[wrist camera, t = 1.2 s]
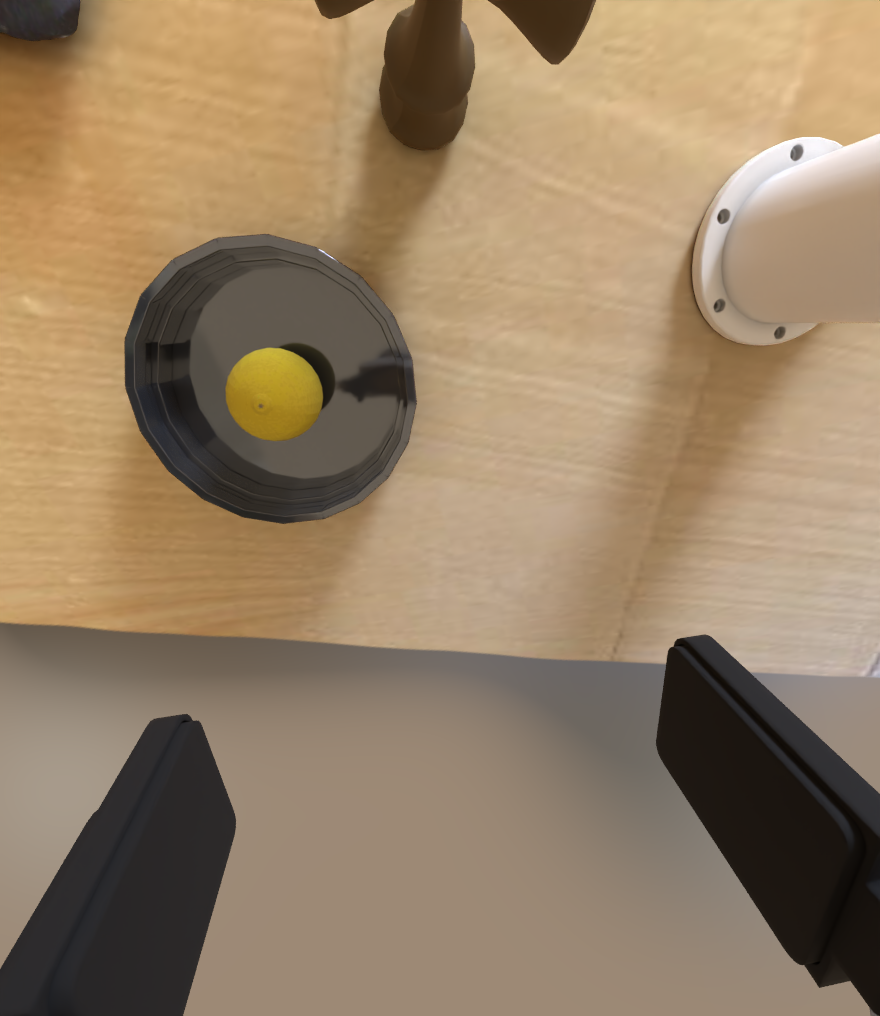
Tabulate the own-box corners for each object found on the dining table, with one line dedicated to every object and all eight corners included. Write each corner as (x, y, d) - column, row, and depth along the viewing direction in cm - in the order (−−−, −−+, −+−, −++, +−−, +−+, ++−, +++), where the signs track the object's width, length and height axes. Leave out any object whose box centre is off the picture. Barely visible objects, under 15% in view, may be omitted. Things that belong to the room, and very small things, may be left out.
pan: (280, 182, 28) (262, 157, 24) (459, 395, 34) (469, 405, 30) (104, 375, 31) (60, 383, 27) (297, 540, 37) (286, 568, 33)
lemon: (260, 431, 33) (224, 462, 26) (237, 351, 31) (191, 359, 23) (337, 420, 33) (323, 447, 26) (319, 339, 31) (299, 344, 24)
